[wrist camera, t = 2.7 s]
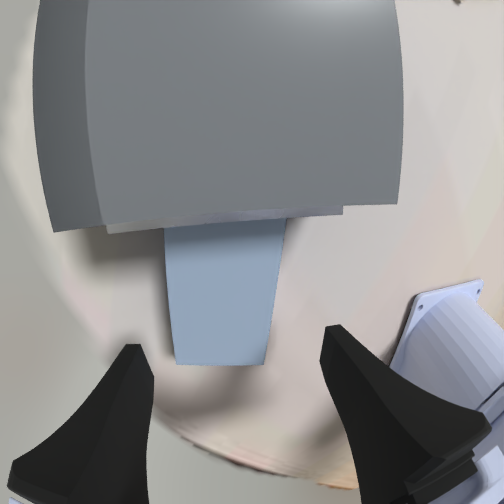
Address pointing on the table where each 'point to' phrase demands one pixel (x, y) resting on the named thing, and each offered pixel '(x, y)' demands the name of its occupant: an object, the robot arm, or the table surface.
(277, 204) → the gray block
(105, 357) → the table surface
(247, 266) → the pale blue rectangular block
